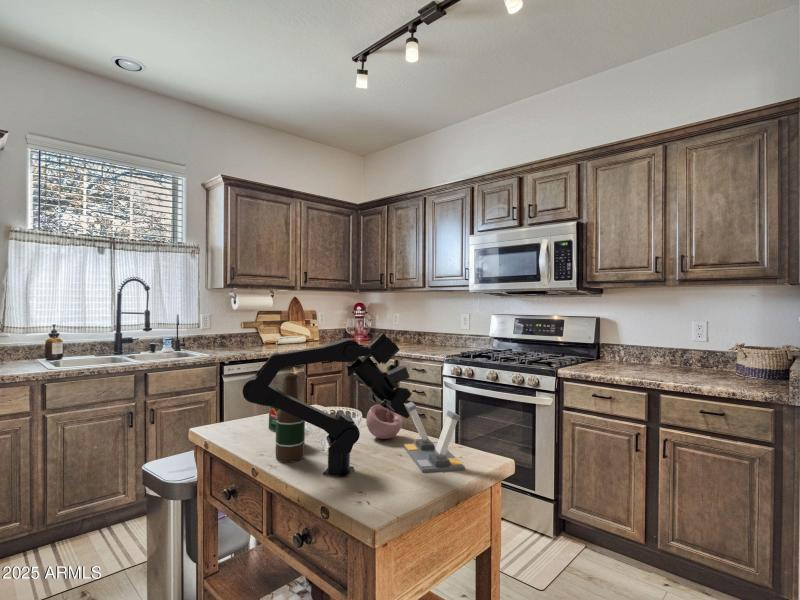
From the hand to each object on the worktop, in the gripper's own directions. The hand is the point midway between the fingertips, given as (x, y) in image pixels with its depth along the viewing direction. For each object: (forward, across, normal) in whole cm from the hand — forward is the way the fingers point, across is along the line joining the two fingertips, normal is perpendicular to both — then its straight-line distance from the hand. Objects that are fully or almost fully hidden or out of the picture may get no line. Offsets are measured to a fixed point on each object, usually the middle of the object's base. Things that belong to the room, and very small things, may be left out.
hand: (407, 417), depth 124 cm
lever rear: (+14, +12, -2) cm, 19 cm away
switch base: (+16, +5, +2) cm, 17 cm away
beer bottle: (-10, +18, +30) cm, 36 cm away
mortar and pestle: (+11, +27, +6) cm, 29 cm away
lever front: (+14, -2, +1) cm, 14 cm away
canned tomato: (-11, +49, +27) cm, 57 cm away
